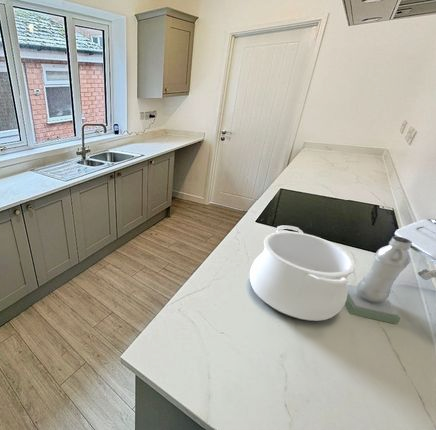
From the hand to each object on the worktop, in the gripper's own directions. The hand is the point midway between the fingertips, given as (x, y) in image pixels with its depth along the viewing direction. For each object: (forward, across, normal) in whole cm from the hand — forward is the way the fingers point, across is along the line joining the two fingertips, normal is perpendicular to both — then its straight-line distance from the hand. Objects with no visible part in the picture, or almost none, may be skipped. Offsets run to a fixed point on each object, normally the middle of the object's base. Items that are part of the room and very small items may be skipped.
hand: (405, 265), depth 70 cm
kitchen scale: (+14, 0, +9) cm, 16 cm away
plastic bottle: (+12, -1, +7) cm, 13 cm away
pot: (+28, -3, -5) cm, 29 cm away
